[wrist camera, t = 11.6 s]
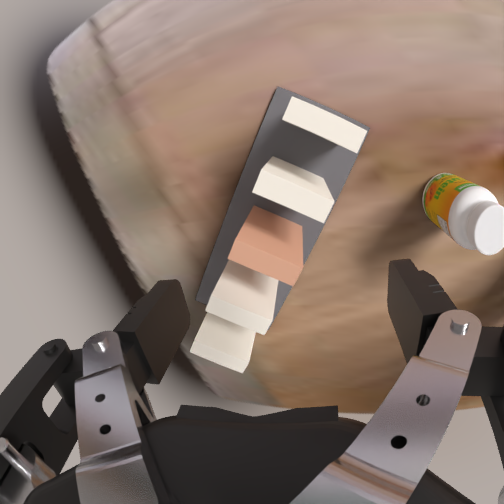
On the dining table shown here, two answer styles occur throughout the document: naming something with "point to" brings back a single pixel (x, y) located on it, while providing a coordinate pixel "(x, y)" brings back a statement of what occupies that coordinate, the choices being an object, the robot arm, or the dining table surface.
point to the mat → (292, 151)
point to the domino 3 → (270, 246)
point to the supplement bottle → (465, 213)
